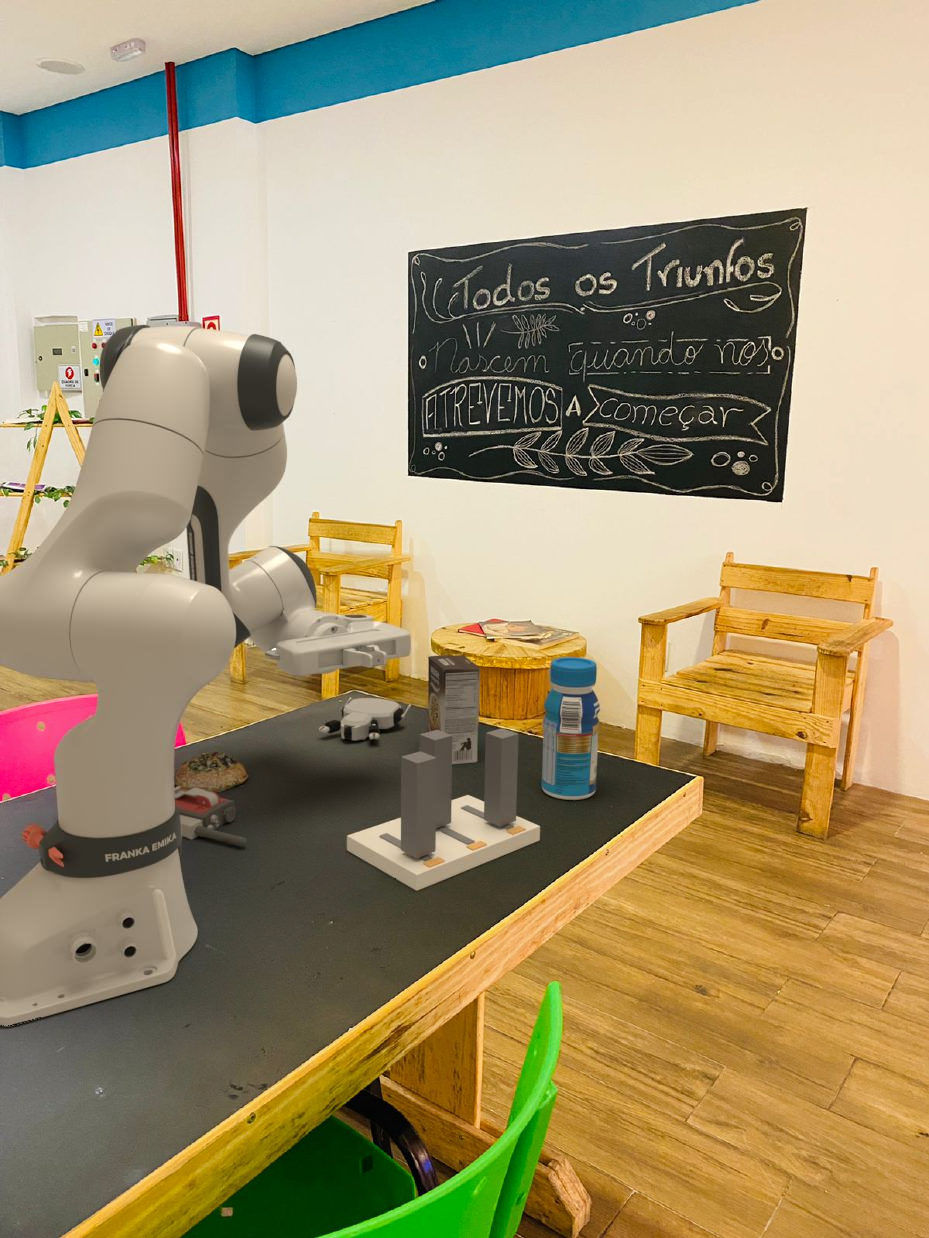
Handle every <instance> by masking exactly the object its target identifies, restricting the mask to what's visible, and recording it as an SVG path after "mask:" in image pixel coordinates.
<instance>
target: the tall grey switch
mask: <svg viewBox="0 0 929 1238" xmlns="http://www.w3.org/2000/svg"><path fill="white" fill-rule="evenodd" d="M436 761H437V758H436V757H433V756H431V755H428V754H426V753H424V752H421V751H420V752H419V751H416V752H413V753H412V752H411V753H410V754H406V755H402V756H400V818H401V850H402V851H403V852H405V853H407V854H409V855H411V856H413V857H414V858H416V859H417V858H419V857H422V856H425V855H427V854H430V853H432V852H435V849H436Z"/></svg>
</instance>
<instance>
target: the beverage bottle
mask: <svg viewBox="0 0 929 1238" xmlns="http://www.w3.org/2000/svg"><path fill="white" fill-rule="evenodd" d="M549 670H550V671H549V673H550V674H549V677H550V678H549V679H550V680H549V681H550V683H551V685H552V686H553V687H552V688H551V689H550V691H549V692H548V694H547V696H546V698H545V701H544V705H543V706H544V711H545V714H544V716H543V719H542V729H543V733H542V735H543V738H542V771H541V775H542V776H541V789H542V791H543V792H544V793H545V794H547V795H548V796H551V797H552V798H555V799H561V800H566V801H567V800H569V801H571V800H572V801H577V800H578V801H579V800H584V799H587V798H589V797H591V796H593V795H594V794H595V792H596V791H597V767H598V751H599V750H598V749H599V735H600V734H599V732H600V730H601V722H600V719H599V718H598V715H599V712H600V710H601V706H600V702H599V699H598V697H597V695H596V693H595V690H593V688H594V687H595V686H596V683H597V675H598V673H597V670H598V667H597V663H596V661H593V660H591V659H589V658H584V657H572V656H567V657H566V656H565V657H558V658H554V659H553V660H551V663H550V669H549Z"/></svg>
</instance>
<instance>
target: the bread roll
mask: <svg viewBox="0 0 929 1238" xmlns="http://www.w3.org/2000/svg"><path fill="white" fill-rule="evenodd" d="M248 778H249V774H248V773H247V771H246V768H245V767H244V765H243V764H242V763H240V762H239V760H236V759H235V758H234V757H232V756H228V755H227V754H226V753H225V752H224V751H223V752H221V753H219V752H218V750H213V751H212V752H209V753H206V752H204V753H202V754H201V755H200V756H197V757H195V758H193V759H190V760H187V761H184V762H183V763H182V764H181V765H180V767H178V769H177V770H176V772H175V773H174V785H175V786H176V787H178V786H179V787H180V789H184V790H191V789H193V788H199V789H203V790H205V791H212V792H215V793H220V792H225V791H227V790H229V789H232V788H234V787H235V786H239V785H242V784H243V783H245V781H246V780H247V779H248Z"/></svg>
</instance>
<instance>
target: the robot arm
mask: <svg viewBox="0 0 929 1238" xmlns="http://www.w3.org/2000/svg"><path fill="white" fill-rule="evenodd" d="M99 378H100V383H101V387H102V390H103V392H102V394H101V397H100V399H99V402H98V405H97V409H96V411H95V415H94V418H93V422H92V426H91V430H90V433H89V438H88V441H87V445H86V450H85V453H84V458H83V459H82V460H83V461H82V464H81V467H80V471H79V473H78V478H77V480H76V483H75V485H74V486H75V487H74V490H73V493H72V495H71V498H70V500H69V503H68V504H67V506H66V508H65V510H64V511H63V514H62V515H61V517H60V518H59V520H58V521H57V523H56V524H55V525H54V527H53V528H52V529H51V530H50V532H49V534H48V535H47V536H46V538H44V540H43V541H42V542H41V544H39V545H38V547H37V548H36V549H35V550H34V551H33V552H32V553H31V554H30V555H29V556H28V557H27V558H26V559H24V560H23V561H22V562H21V563H20V564H19V565H17V566H16V567H14V568H12V569H11V570H9V571H7V572H5V573H4V574H2V575H0V666H2V667H4V668H7V669H10V670H12V671H15V672H17V673H21V674H24V675H28V676H31V677H34V678H37V679H44V680H45V679H46V680H57V681H66V682H67V681H68V682H79V683H80V682H81V683H91V684H95V685H96V689H97V701H96V702H97V704H96V709H95V713H94V715H92V716H91V717H88V718H86V719H85V720H83V721H81V722H79V723H78V724H76V725H74V726H73V727H72V728H70V729H69V730H68V731H67V732H66V733H65V734H64V736H63V737H62V738H61V739H60V741H59V743H58V744H57V746H56V748H55V751H54V755H53V762H54V763H53V764H54V778H55V790H56V791H55V792H56V804H57V807H56V808H57V816H58V817H57V819H56V820H55V822H54V824H53V825H52V826H51V827H50V829H49V830H48V831H46V830H45V829H44V828H43V827H42V826H41V825H40V824H37V823H33V824H30V825H27V826H26V827H25V828H24V831H23V830H22V835H21V839H22V841H23V842H24V843H25V844H27V846H28V847H29V848H30V849H33V850H39V862H38V863H37V864H36V865H35V866H34V867H33V868H32V869H31V870H29V872H28V873H26V874H25V875H24V876H23V877H22V878H21V879H20V880H19V881H18V882H17V883H16V884H15V885H14V886H13V887H11V888H10V889H9V890H8V891H7V892H6V893H5V894H4V895H3V896H1V898H0V1026H1V1025H2V1027H11V1026H10V1025H12V1024H14V1023H18V1022H22V1021H27V1020H31V1021H33V1020H32V1019H34V1020H36V1019H35V1018H37V1017H41V1018H45V1017H48V1016H52V1015H55V1014H59V1013H62V1012H65V1011H70V1010H73V1009H77V1008H79V1007H84V1006H86V1005H90V1004H93V1003H97V1002H100V1001H104V1000H107V999H111V998H115V997H118V996H121V995H125V994H129V993H132V992H135V991H139V990H143V989H146V988H149V987H153V986H157V985H161V984H164V983H167V982H169V981H170V980H172V979H173V978H174V977H175V974H176V972H177V969H178V966H179V962H180V961H181V959H182V958H183V957H184V956H185V955H186V954H187V953H188V952H189V951H190V950H191V949H192V948H193V946H194V944H195V943H196V940H197V938H198V932H199V931H198V926H197V925H198V924H197V923H196V922H195V918H194V916H193V913H192V911H191V908H190V903H189V902H188V896H187V893H186V888H185V883H184V879H183V878H184V877H183V873H182V867H181V860H180V858H181V856H182V850H183V848H182V847H183V846H182V845H183V844H182V840H183V836H182V828H181V821H180V811H179V807H178V806H177V805H176V804H175V791H174V788H175V783H174V777H175V747H176V738H177V734H178V731H179V730H178V729H179V727H180V723H181V720H182V718H183V716H184V714H185V711H186V709H187V707H188V706H189V704H190V703H191V702H192V700H193V699H194V697H196V695H198V693H199V692H200V691H201V690H203V689H204V688H205V687H206V686H207V685H209V684H211V682H213V681H214V680H215V679H217V677H218V676H219V675H221V673H222V672H223V671H224V670H225V668H226V667H227V665H229V661H230V660H231V658H232V655H233V653H234V649H235V648H237V647H238V646H239V645H240V644H242V643H243V642H245V641H247V640H248V639H250V640H251V642H252V643H253V644H254V645H255V646H256V647H257V648H258V649H260V650H261V651H262V652H264V656H265V658H266V659H269V660H271V661H276V665H277V668H278V669H280V670H281V671H283V672H284V673H287V674H289V675H291V676H294V677H295V676H296V677H305V676H310V675H316V674H321V675H326V674H327V675H328V674H331V673H334V672H336V671H338V670H342V669H348V668H353V667H365V668H368V669H369V668H375V667H381V666H385V665H387V663H388V661H389V660H393V659H394V660H395V659H399V658H406V657H409V656H410V654H411V649H412V646H411V645H412V639H411V634H410V632H409V630H407V629H405V628H403V627H400V626H397V625H393V624H392V623H391V624H390V623H387V622H384V621H377V620H376V621H375V620H374V619H375V618H374V617H373V616H372V615H368V614H337V613H333V612H325V611H324V612H323V611H321V610H317V608H316V607H317V603H318V601H317V600H318V599H317V588H316V583H315V579H314V577H313V574H312V572H311V570H310V568H309V566H308V565H307V563H306V562H305V561H304V560H303V558H302V557H300V556H299V555H297V554H295V553H294V552H292V551H291V550H288V549H286V548H284V547H281V546H276V545H270V546H268V547H267V548H264V549H263V550H261V551H259V552H257V553H255V555H252V556H250V557H249V558H247V559H246V560H244V561H243V562H241V563H239V564H238V565H236V566H234V567H232V568H231V569H230V559H229V546H230V541H231V538H232V536H233V534H235V532H236V530H237V528H238V527H239V526H240V525H241V524H242V522H243V521H244V520H245V519H246V518H247V516H248V515H249V514H250V513H251V512H252V511H253V510H255V508H256V507H257V506H258V505H260V504H261V503H262V502H263V501H264V500H266V499H267V498H268V497H269V495H271V494H272V493H273V492H274V491H275V489H276V488H277V487H278V485H279V484H280V482H281V481H282V479H283V477H284V476H285V475H284V474H285V472H286V468H287V461H288V446H287V445H288V444H287V440H286V439H287V438H286V433H285V426H284V422H285V421H286V420H287V419H288V418H290V416H291V414H292V412H293V409H294V405H295V400H296V396H297V391H298V378H297V372H296V366H295V362H294V358H293V356H292V354H291V352H290V351H289V350H288V349H287V348H286V346H284V344H283V343H282V342H281V341H279V340H276V339H274V338H272V337H268V336H265V335H260V334H256V333H253V334H251V335H247V334H243V333H237V332H232V331H225V330H219V329H212V328H204V327H202V326H192V325H191V326H190V325H166V326H165V325H164V326H154V327H153V326H150V325H148V324H138V325H130V326H127V327H126V326H125V327H121V328H120V329H118V330H116V331H115V332H114V333H113V334H112V335H111V336H110V337H109V338H108V339H107V340H106V342H105V344H104V346H103V348H102V350H101V353H100V357H99ZM185 530H186V544H187V557H188V558H187V559H188V570H189V571H188V573H189V575H188V576H189V578H185V577H181V576H179V575H174V574H169V573H167V574H166V573H152V572H149V573H148V572H135V571H136V570H137V569H138V567H139V566H140V565H141V564H142V562H143V561H144V560H145V559H146V558H147V557H148V556H149V555H151V554H152V552H154V551H156V550H157V549H160V548H161V547H162V546H164V545H167V544H169V543H170V542H173V541H174V540H175V539H177V538H179V537H180V536H181V535H182V534H183V532H184V531H185ZM27 1022H28V1021H27ZM3 1025H4V1026H3ZM8 1025H9V1026H8ZM12 1026H13V1025H12Z"/></svg>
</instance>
